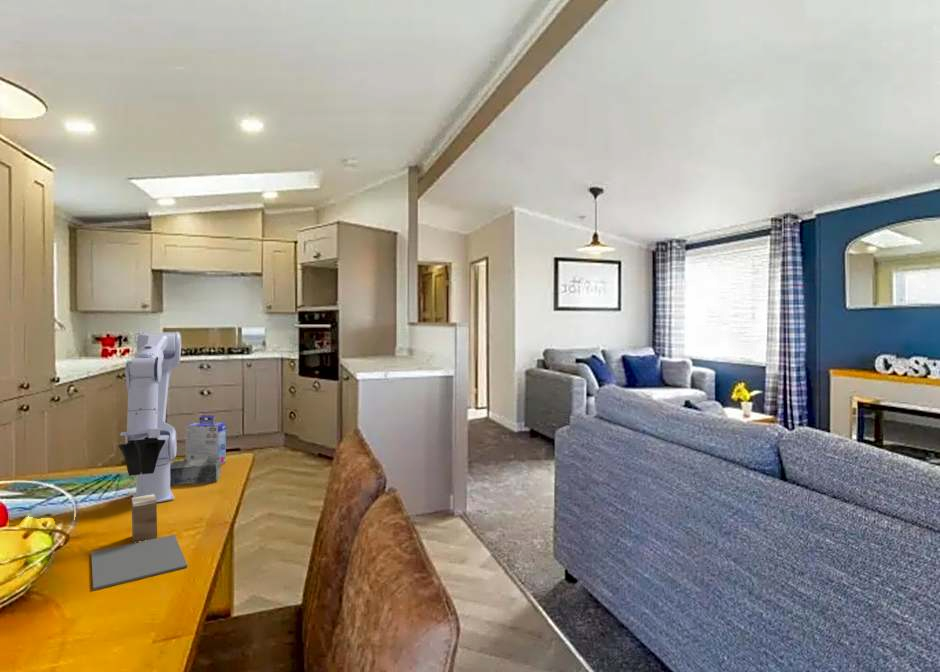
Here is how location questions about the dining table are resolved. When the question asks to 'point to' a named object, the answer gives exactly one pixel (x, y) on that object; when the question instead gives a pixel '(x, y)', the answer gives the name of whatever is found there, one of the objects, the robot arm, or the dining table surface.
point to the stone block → (195, 471)
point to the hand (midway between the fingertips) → (141, 474)
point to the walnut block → (144, 518)
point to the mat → (136, 561)
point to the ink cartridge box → (206, 440)
